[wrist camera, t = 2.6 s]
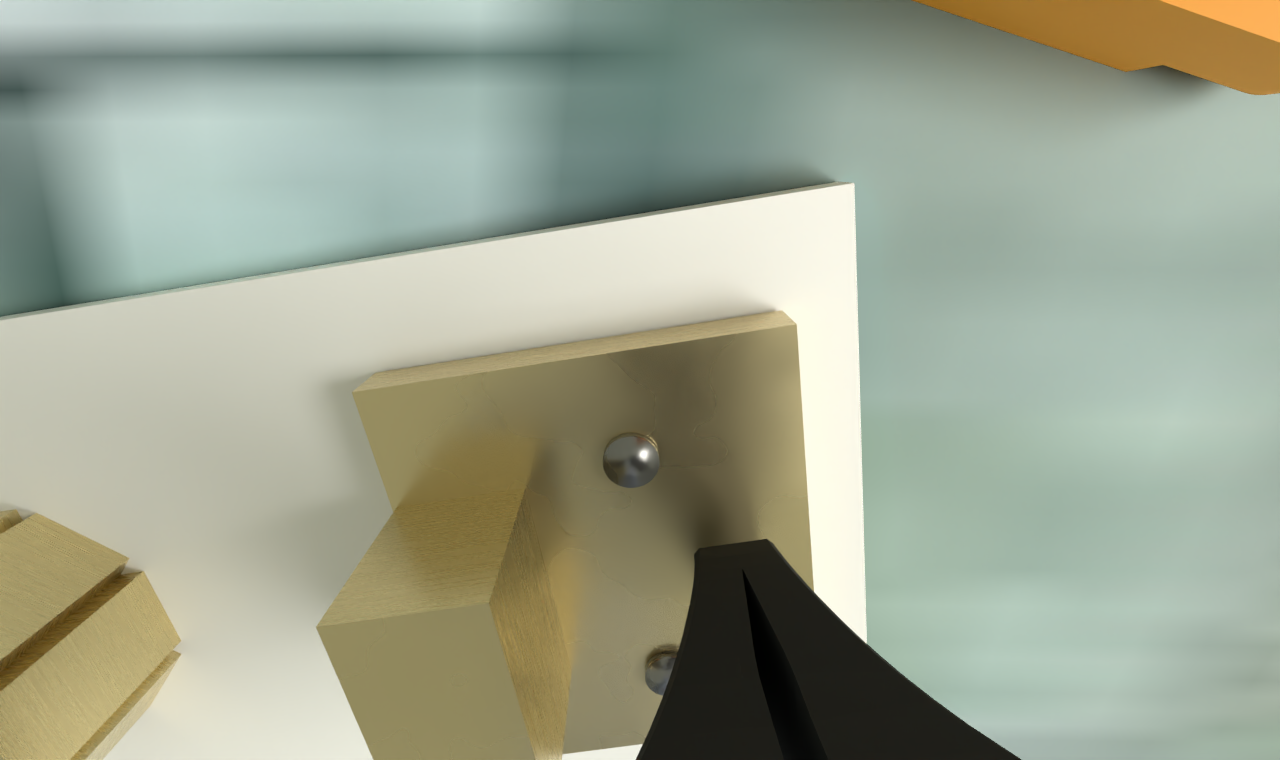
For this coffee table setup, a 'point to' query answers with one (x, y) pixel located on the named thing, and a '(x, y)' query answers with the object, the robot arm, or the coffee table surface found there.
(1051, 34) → the bracket
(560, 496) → the loose leaf
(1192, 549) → the coffee table surface
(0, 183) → the coffee table surface
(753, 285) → the board
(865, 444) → the coffee table surface
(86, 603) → the fixed leaf
